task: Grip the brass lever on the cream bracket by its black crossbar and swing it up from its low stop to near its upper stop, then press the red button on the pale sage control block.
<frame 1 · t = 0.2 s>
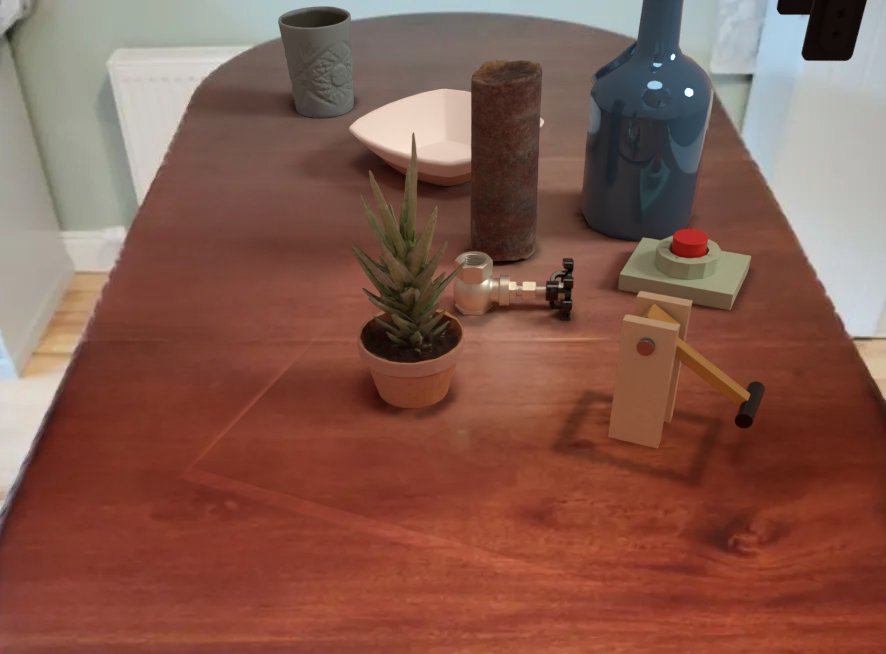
hand: (811, 35, 69), 31 cm above the table, tool pointing down, fingers open, 9 cm apart
brown textured cylinder: (502, 256, 114), on the table
valve: (510, 321, 104), on the table
grey embossed cup: (323, 108, 147), on the table
wine bottle: (634, 221, 119), on the table
button block: (682, 283, 108), on the table
lever: (699, 365, 82), point 9 cm above the table, hinge at -30.0°
button: (689, 244, 105), point 4 cm above the table, slide at 0.1 cm
potted plant: (416, 402, 94), on the table
bracket: (638, 439, 89), on the table
bowl: (447, 166, 132), on the table
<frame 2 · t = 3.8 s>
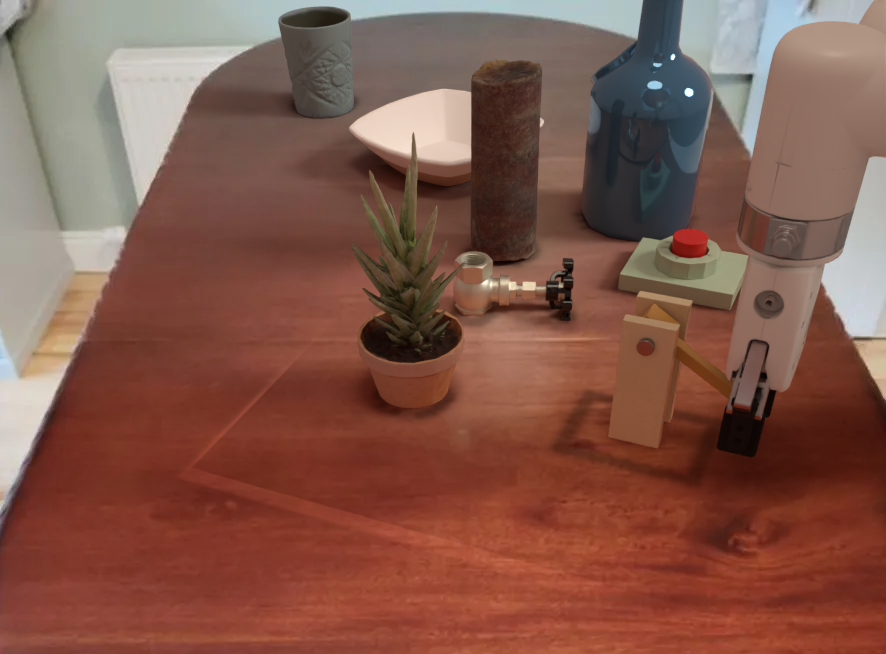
hand: (743, 430, 84), 3 cm above the table, tool pointing down, fingers closed on lever, 5 cm apart
lever: (699, 365, 82), point 9 cm above the table, hinge at -30.0°, touching gripper
everything else where it was.
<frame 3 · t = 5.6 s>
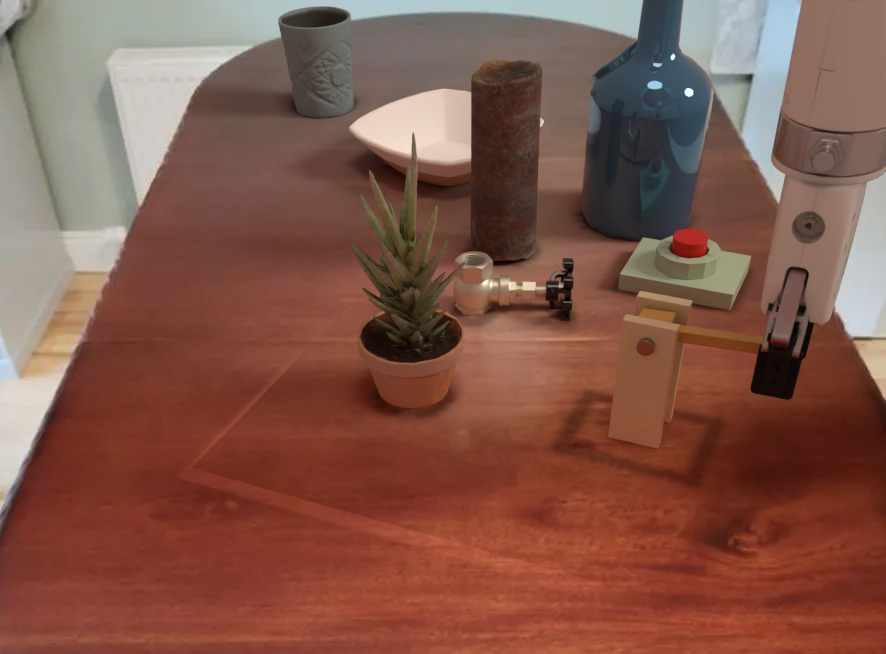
hand: (778, 372, 79), 9 cm above the table, tool pointing down, fingers closed on lever, 5 cm apart
lever: (712, 338, 79), point 11 cm above the table, hinge at 3.3°, touching gripper
everything else where it was.
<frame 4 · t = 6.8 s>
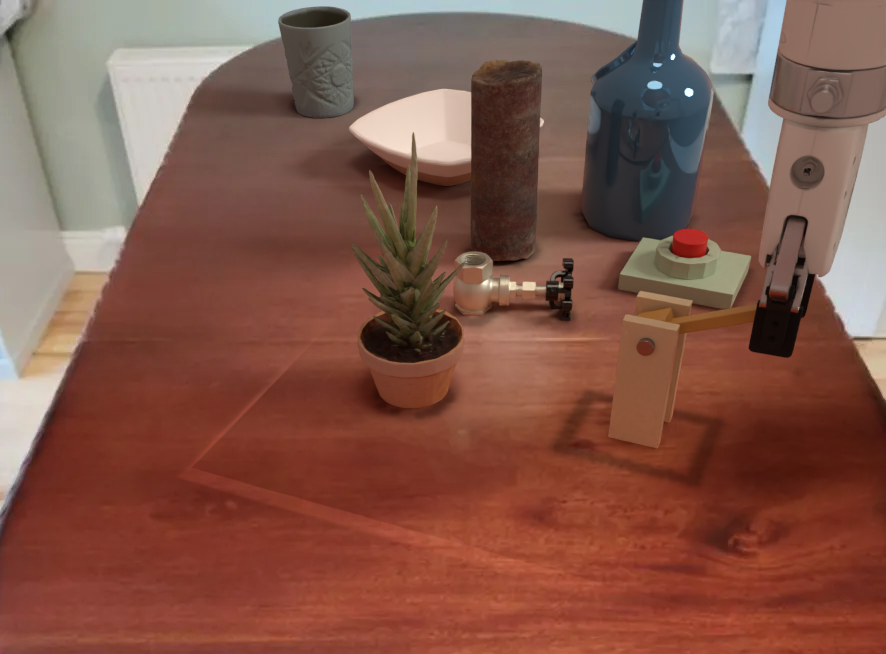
hand: (777, 330, 77), 13 cm above the table, tool pointing down, fingers open, 5 cm apart
lever: (711, 320, 78), point 13 cm above the table, hinge at 22.6°
everything else where it was.
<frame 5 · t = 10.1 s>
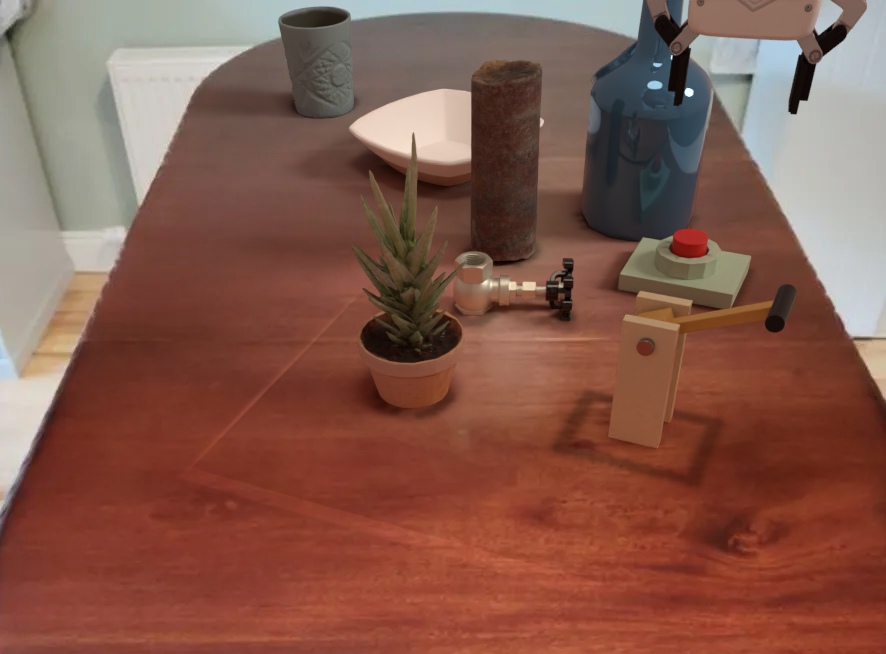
hand: (734, 104, 86), 22 cm above the table, tool pointing down, fingers open, 9 cm apart
nothing on the table moved.
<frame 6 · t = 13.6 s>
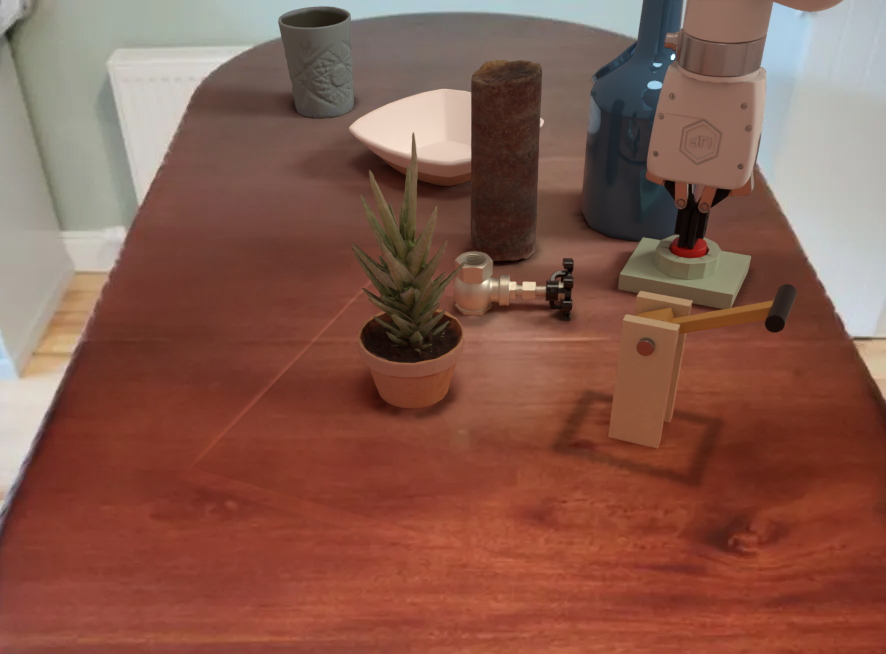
hand: (688, 242, 105), 5 cm above the table, tool pointing down, fingers closed
button: (688, 250, 105), point 4 cm above the table, slide at -0.6 cm, touching gripper
everything else where it was.
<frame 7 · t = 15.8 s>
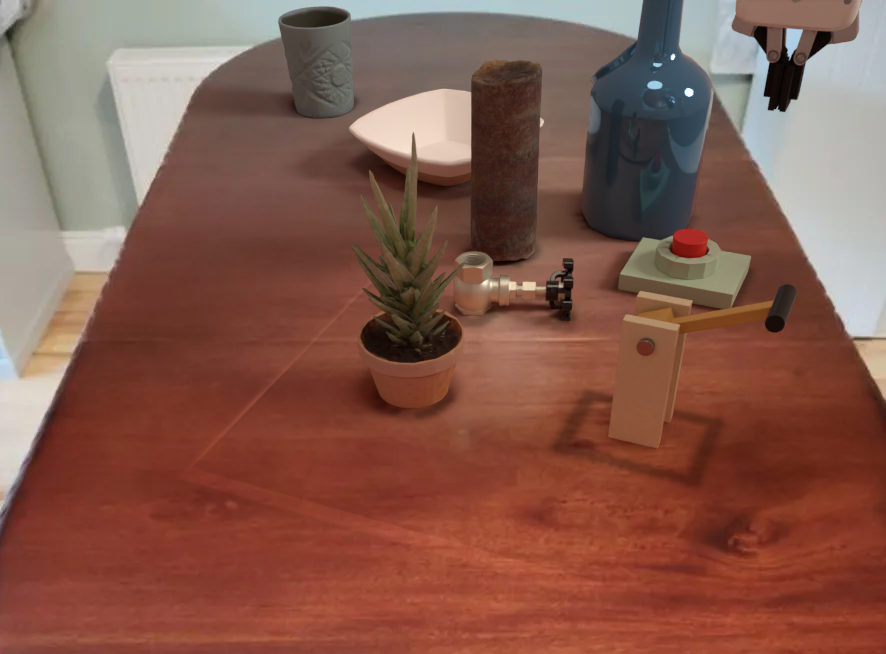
hand: (779, 105, 92), 19 cm above the table, tool pointing down, fingers closed
button: (689, 244, 105), point 4 cm above the table, slide at 0.1 cm
everything else where it was.
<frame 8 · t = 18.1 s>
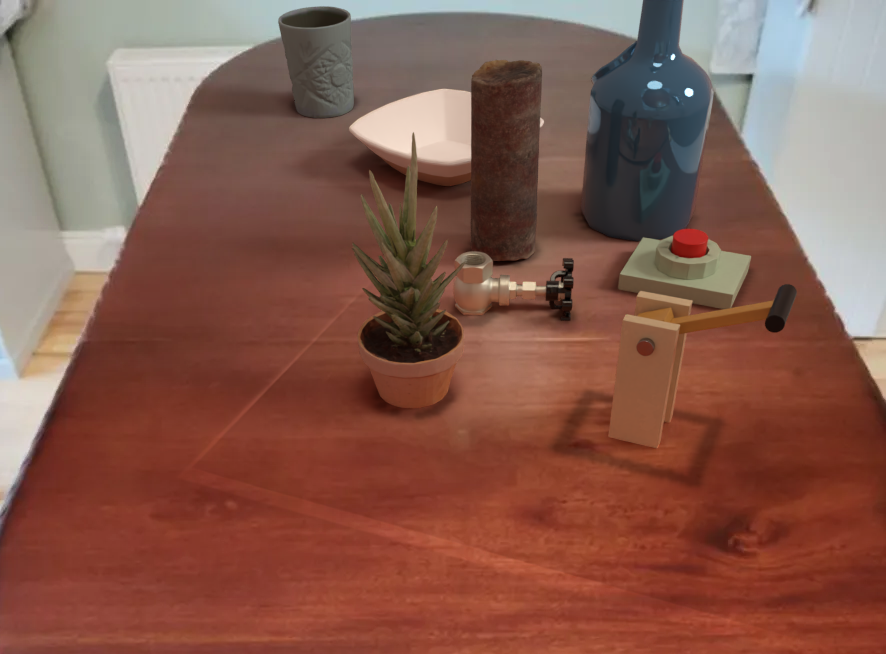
nothing on the table moved.
at the end: lever at +23° (first picture: -30°); button pushed in 1.1 cm at the most during the clip, back to where it started at the end; button slide at 0.1 cm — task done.
